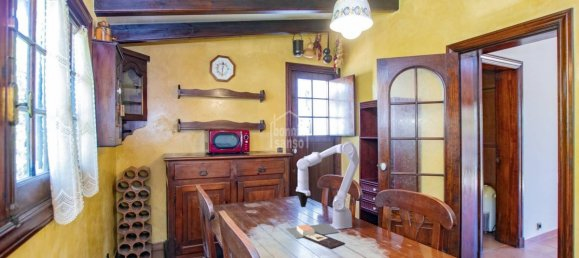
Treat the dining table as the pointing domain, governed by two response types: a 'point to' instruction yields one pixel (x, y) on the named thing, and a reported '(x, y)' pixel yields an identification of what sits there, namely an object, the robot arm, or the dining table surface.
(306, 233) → the tile
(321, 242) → the chocolate bar
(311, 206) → the dining table surface
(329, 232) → the mat
